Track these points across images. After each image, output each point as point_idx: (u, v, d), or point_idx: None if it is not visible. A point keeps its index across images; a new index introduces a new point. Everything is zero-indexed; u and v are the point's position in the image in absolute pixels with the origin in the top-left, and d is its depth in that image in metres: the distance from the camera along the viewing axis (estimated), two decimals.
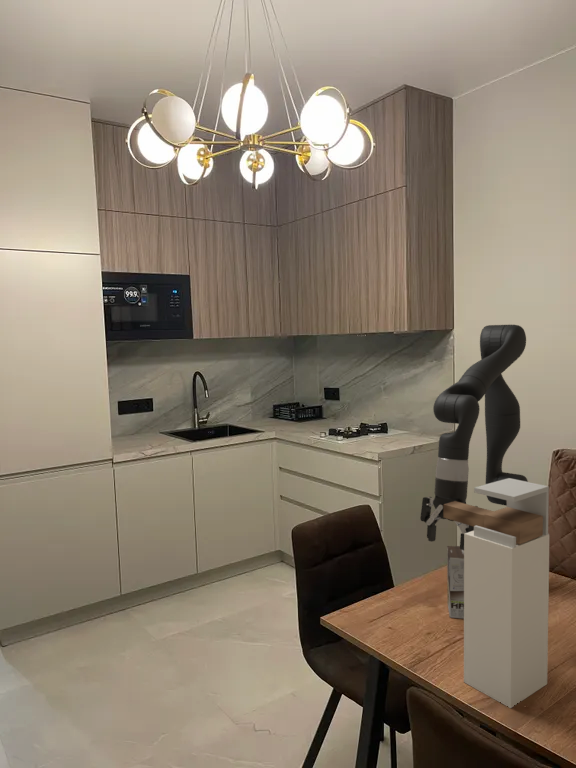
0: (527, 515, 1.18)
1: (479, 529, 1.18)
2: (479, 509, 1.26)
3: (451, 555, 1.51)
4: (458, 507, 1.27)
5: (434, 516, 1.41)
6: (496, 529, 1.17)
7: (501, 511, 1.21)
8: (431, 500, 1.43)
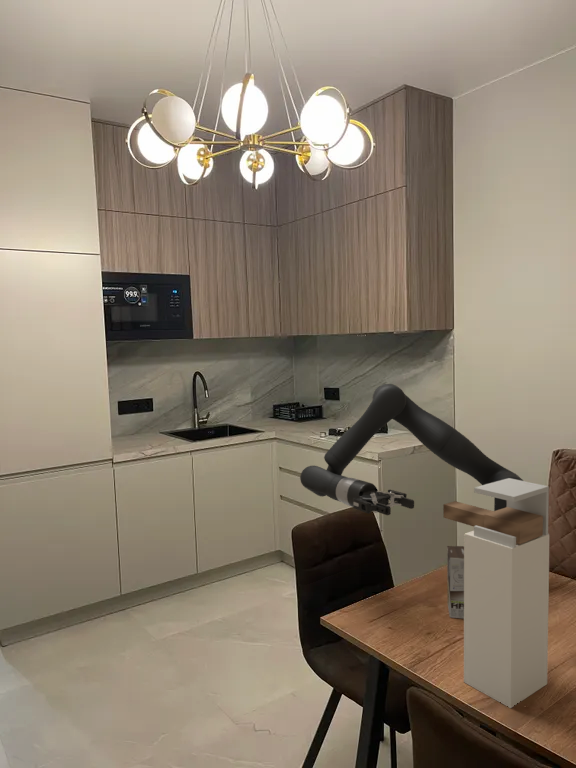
0: (527, 515, 1.18)
1: (479, 529, 1.18)
2: (479, 509, 1.26)
3: (451, 555, 1.51)
4: (458, 507, 1.27)
5: None
6: (496, 529, 1.17)
7: (501, 511, 1.21)
8: None
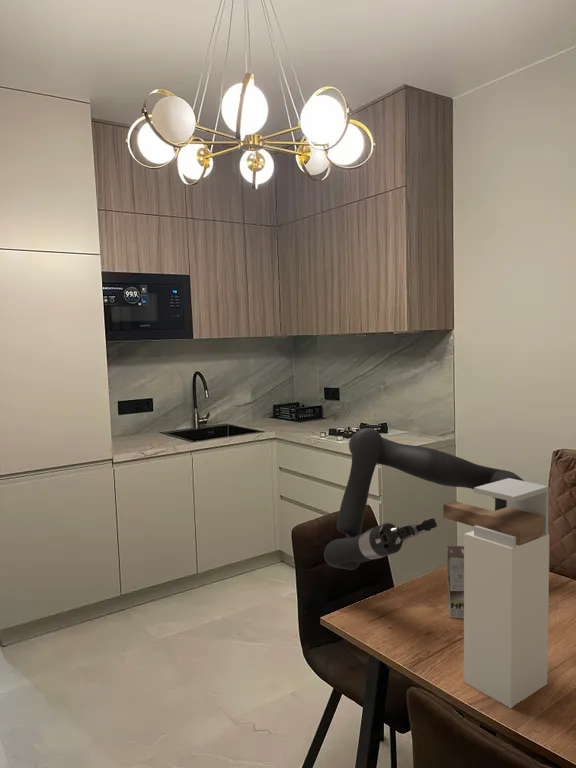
0: (527, 515, 1.18)
1: (479, 529, 1.18)
2: (479, 509, 1.26)
3: (451, 555, 1.51)
4: (458, 507, 1.27)
5: (415, 536, 1.44)
6: (496, 529, 1.17)
7: (501, 511, 1.21)
8: None
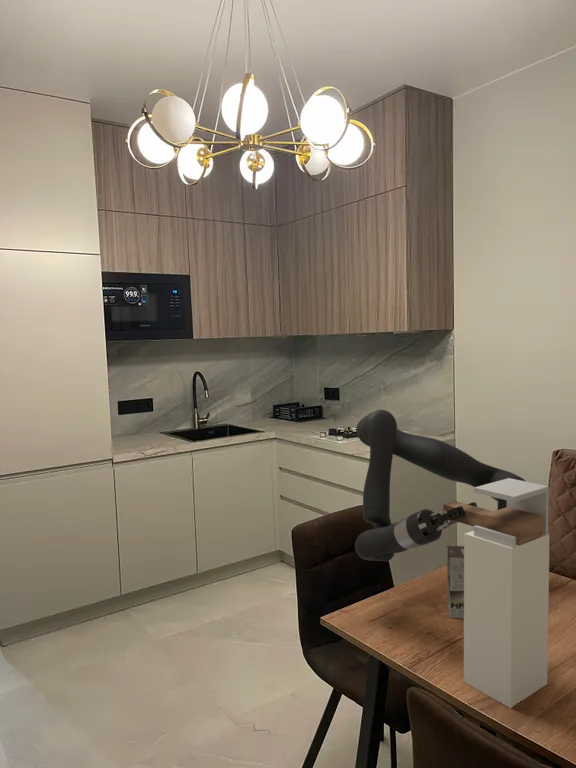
0: (527, 515, 1.18)
1: (479, 529, 1.18)
2: (479, 509, 1.26)
3: (451, 555, 1.51)
4: None
5: None
6: (496, 529, 1.17)
7: (501, 511, 1.20)
8: None
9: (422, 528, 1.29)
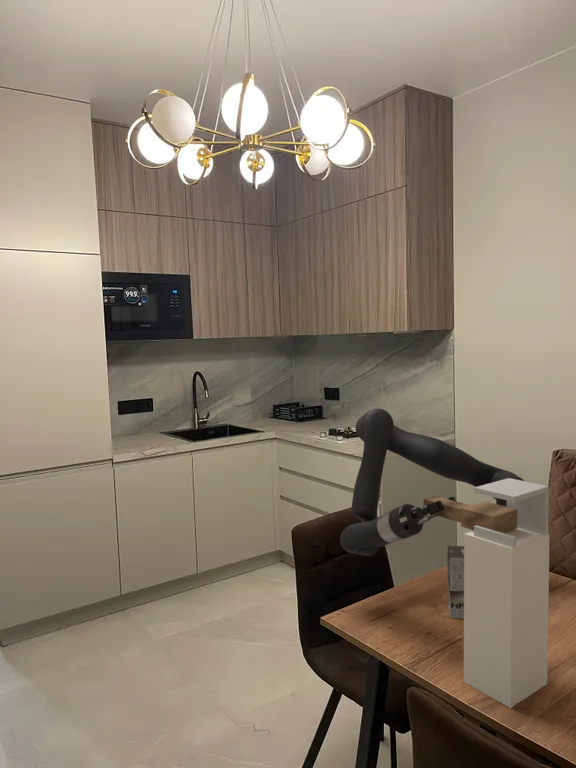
0: (502, 509, 1.22)
1: (479, 529, 1.18)
2: (457, 503, 1.30)
3: (451, 555, 1.51)
4: None
5: (435, 517, 1.37)
6: (472, 522, 1.21)
7: (478, 505, 1.25)
8: None
9: (403, 522, 1.34)
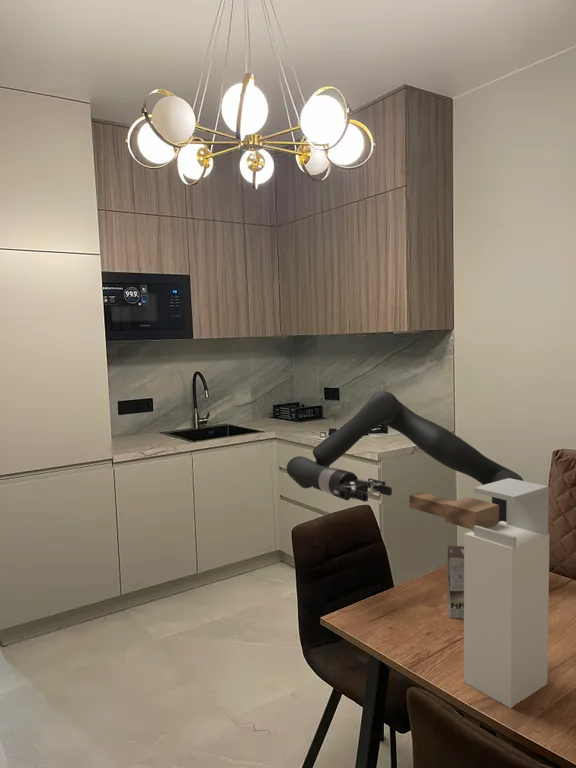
0: (484, 504, 1.26)
1: (479, 529, 1.18)
2: (442, 499, 1.34)
3: (451, 555, 1.51)
4: (423, 497, 1.35)
5: None
6: (455, 517, 1.25)
7: (461, 501, 1.29)
8: None
9: (335, 493, 1.55)
